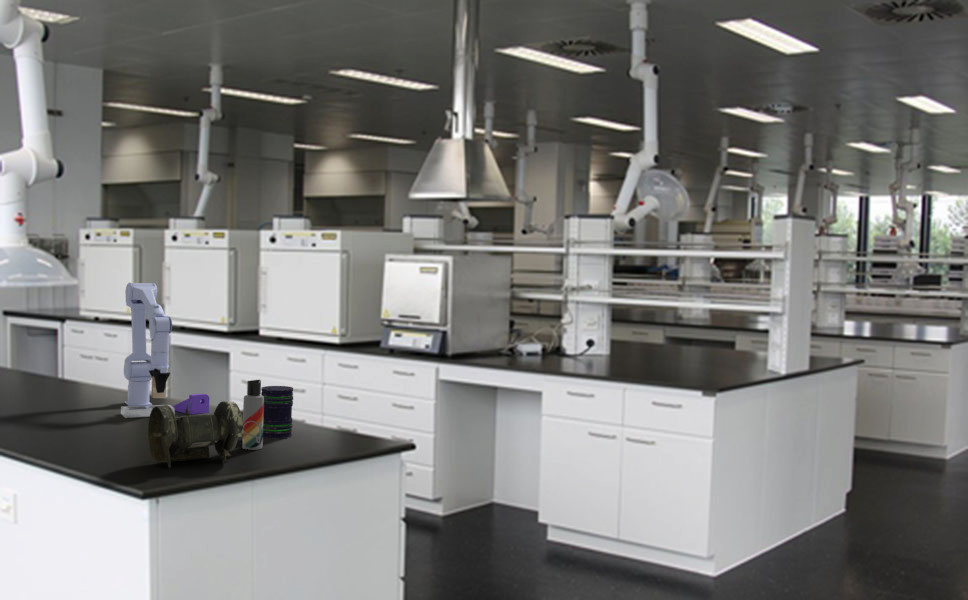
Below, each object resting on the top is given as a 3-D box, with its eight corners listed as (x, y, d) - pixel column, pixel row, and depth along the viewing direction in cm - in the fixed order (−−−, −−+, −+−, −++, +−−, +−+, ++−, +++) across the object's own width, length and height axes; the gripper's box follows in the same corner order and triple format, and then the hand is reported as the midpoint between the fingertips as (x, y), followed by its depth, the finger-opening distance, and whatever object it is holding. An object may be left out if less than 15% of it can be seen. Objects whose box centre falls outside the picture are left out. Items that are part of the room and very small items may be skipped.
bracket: (208, 413, 331) (209, 393, 331) (192, 415, 325) (192, 395, 325) (188, 409, 338) (189, 390, 338) (171, 410, 333) (172, 391, 333)
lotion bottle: (252, 450, 269) (254, 381, 268) (237, 448, 272) (239, 379, 271) (266, 448, 274) (268, 379, 273) (252, 445, 277) (254, 377, 276)
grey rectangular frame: (120, 413, 321) (121, 406, 321) (169, 411, 329) (169, 404, 329) (124, 417, 314) (125, 410, 314) (174, 415, 322) (174, 408, 322)
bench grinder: (250, 455, 247) (242, 382, 254) (164, 458, 234) (159, 382, 241) (223, 475, 262) (216, 406, 269) (141, 479, 249) (136, 406, 256)
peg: (151, 396, 324) (151, 376, 323) (163, 396, 325) (164, 376, 325) (153, 398, 320) (154, 377, 320) (165, 398, 322) (166, 377, 322)
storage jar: (281, 431, 299) (282, 385, 299) (298, 436, 292) (299, 388, 292) (253, 435, 292) (254, 387, 292) (270, 440, 285) (271, 391, 285)
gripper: (143, 350, 327) (142, 389, 327) (151, 354, 314) (150, 395, 314) (164, 349, 330) (163, 388, 331) (173, 354, 317) (172, 394, 318)
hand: (159, 391), depth 323 cm, fingers closed on peg, 4 cm apart
